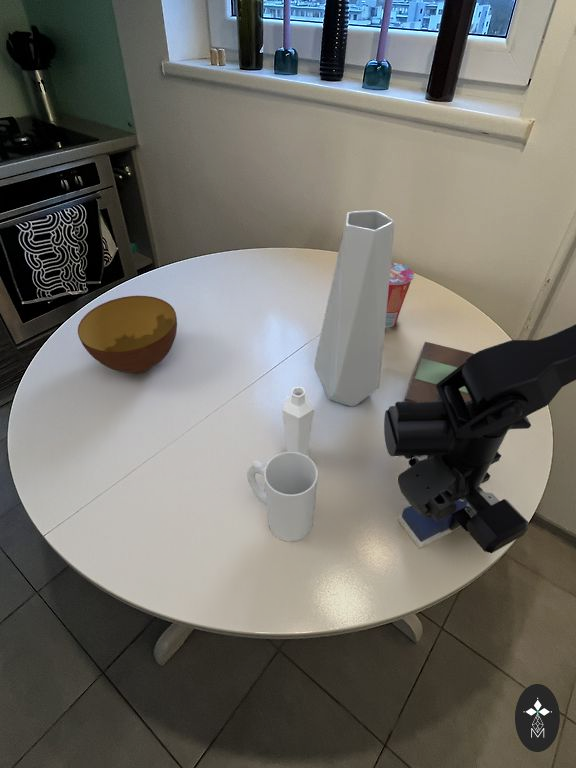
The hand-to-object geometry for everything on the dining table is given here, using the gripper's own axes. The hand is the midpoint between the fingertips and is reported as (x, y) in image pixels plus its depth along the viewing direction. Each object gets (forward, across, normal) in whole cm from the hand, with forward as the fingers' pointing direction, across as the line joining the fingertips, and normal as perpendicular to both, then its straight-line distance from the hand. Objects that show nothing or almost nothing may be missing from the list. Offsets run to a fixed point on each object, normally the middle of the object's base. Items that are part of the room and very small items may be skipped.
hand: (440, 513), depth 65 cm
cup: (+1, -44, +21) cm, 48 cm away
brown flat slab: (+1, -22, +21) cm, 30 cm away
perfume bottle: (+1, -19, -13) cm, 23 cm away
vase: (+1, -28, +2) cm, 28 cm away
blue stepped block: (+1, 0, 0) cm, 1 cm away
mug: (+1, -10, -20) cm, 23 cm away
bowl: (+1, -54, -31) cm, 62 cm away
